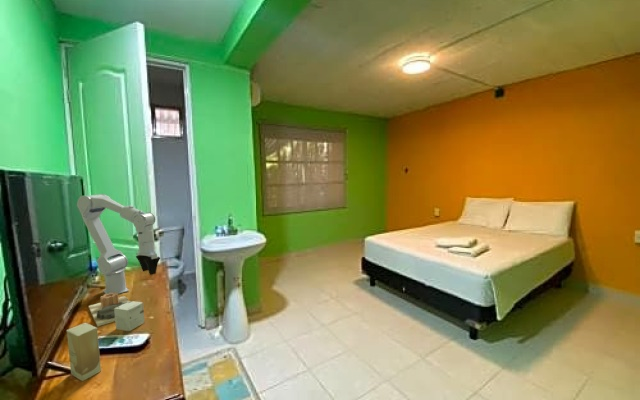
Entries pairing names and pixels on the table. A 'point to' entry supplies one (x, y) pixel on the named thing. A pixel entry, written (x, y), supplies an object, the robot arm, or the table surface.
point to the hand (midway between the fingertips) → (149, 272)
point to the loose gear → (109, 299)
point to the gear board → (98, 307)
